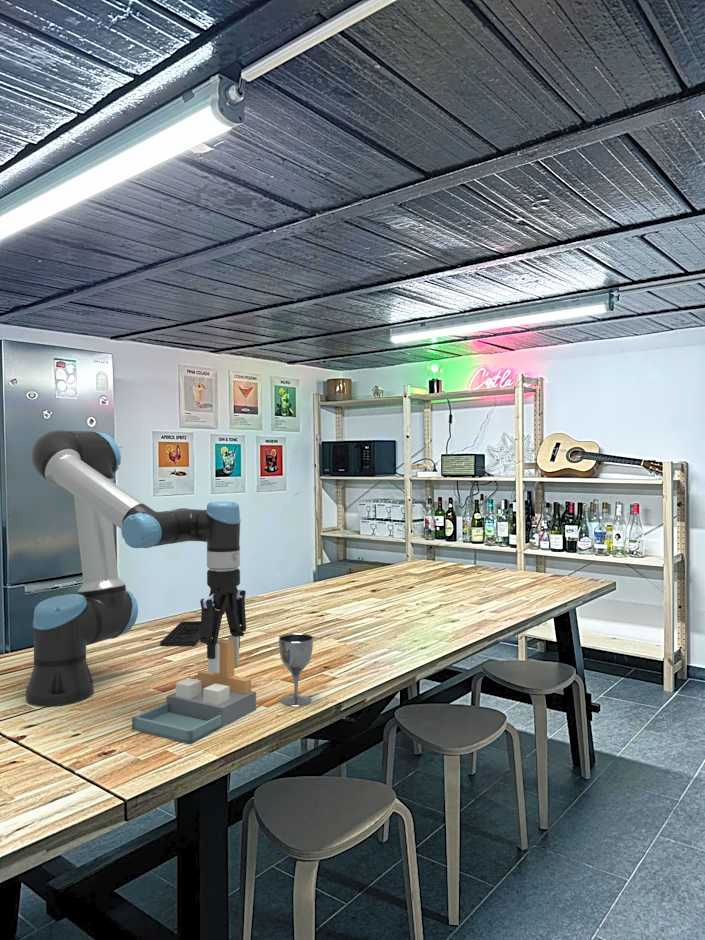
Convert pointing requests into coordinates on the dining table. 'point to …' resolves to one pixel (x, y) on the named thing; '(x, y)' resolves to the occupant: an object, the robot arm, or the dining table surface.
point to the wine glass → (295, 662)
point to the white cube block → (188, 688)
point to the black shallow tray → (183, 634)
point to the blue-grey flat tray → (174, 725)
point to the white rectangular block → (216, 694)
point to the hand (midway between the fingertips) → (223, 667)
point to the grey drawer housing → (213, 706)
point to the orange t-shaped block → (226, 671)
